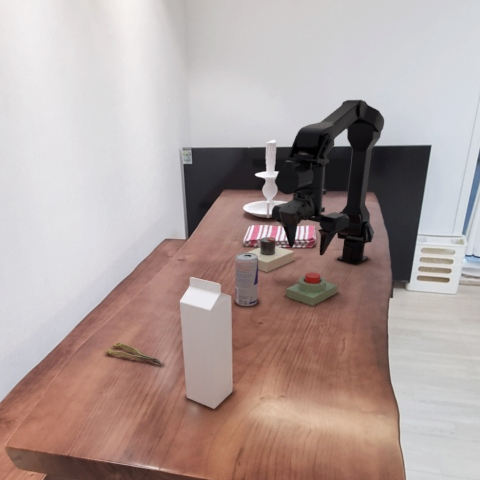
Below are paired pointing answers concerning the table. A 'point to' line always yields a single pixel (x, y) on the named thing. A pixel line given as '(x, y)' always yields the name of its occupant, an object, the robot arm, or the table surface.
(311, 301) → the button base
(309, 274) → the button
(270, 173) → the candlestick
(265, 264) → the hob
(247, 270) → the energy drink
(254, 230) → the dish towel
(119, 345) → the dried herb bundle
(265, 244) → the knob
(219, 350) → the milk
